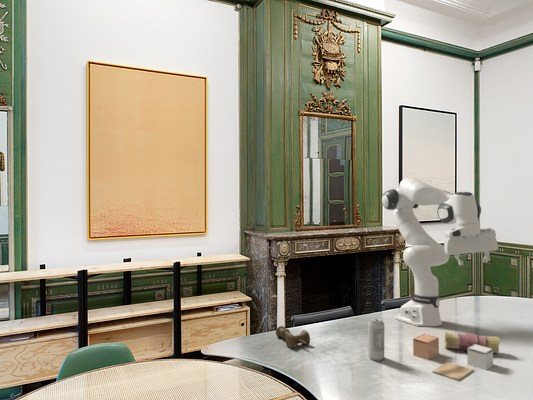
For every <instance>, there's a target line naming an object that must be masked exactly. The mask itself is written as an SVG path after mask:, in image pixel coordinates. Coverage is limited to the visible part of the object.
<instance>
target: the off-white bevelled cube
mask: <svg viewBox="0 0 533 400" xmlns="http://www.w3.org/2000/svg"><path fill="white" fill-rule="evenodd" d="M467 365H469V366H473V367H476V368H479V369H482V370H488V369H490V368H491V367H492V366H493V365H494V352H493V349H492V348H488V347H484V346H481V345H477V344H474V345H472V346H470V347H469V348H468V352H467Z"/></svg>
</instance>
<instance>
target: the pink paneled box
mask: <svg viewBox="0 0 533 400" xmlns="http://www.w3.org/2000/svg"><path fill="white" fill-rule="evenodd" d="M412 341H413V343H412V347H413V348H412V350H413V353H412V354H413V356H414V357H417V358H421V359H424V360H427V361H428V360H430V359H432V358H434V357H435V356H438V355H439V354H440V345H439V343H440V337H438V336H436V335H435V336H434V335H431V334H428V333H427V334H426V333H422V334H421V335H419V336H417V337H414V338H413V339H412Z"/></svg>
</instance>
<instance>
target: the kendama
mask: <svg viewBox="0 0 533 400" xmlns="http://www.w3.org/2000/svg"><path fill="white" fill-rule="evenodd" d="M275 335H276V337H277V338H281V339H284V340H285V345H286V346H287V347H286V348H289V349H293V348H294V347H295V346H296V345H298V344H303V345H306V346H307V345H309V344H310V343H311V337H310V336H311V335H310V333H309V332H308V331H307V330H305V329H303V330H302V331H301V332H299V334H297V335H293V334H292V333H291V331H290V329H288V328H285V326H283V325H280V326H278V327H276V329H275Z"/></svg>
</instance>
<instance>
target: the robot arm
mask: <svg viewBox="0 0 533 400" xmlns="http://www.w3.org/2000/svg"><path fill="white" fill-rule="evenodd" d="M381 204H382V205H383V207H384V208H385V209H386V210H388V211H392V210H393V212H392V216H393V217H392V218H393V220H394V222H395V226H396V227H397V229H398V231H399V233H400V234H401V236H402V238H403V239H404V241H405V243H407V244H409V245H411V246H408V247H407V248H405V249H404V251H403V252H402V254H403V255H402V258H403V259H402V260H403V262H404V264H405V265H406V266H407V267H409V268H410V271H411V272H412V275H413V281H414V292H413V293H411V294H410V295H409V297H410V298H411V299H410V300H408V301H407V302H406V303H404V304H402V305H401V306H400V309H399V313H397V314H395V316H394V319H395V320H398V321H401V322H404V323H406V324H407V323H408V324H409V325H413V326H417V327H438V326H442V325H443V322H442V318H441V314H440V313H441V312H440V294H439V279H438V277H436V276H435V275H434V274H433V272H432V270H431V267H438V266H441V265H445V264H447V262H448V261H449V259H450V256H454V258H455V260H457V263H458V265H459V266H464V265H465V263H464V260H461V259H460V257H461V256H460V255H463V254H464V255H466V254H476V253H483V254H484V255H483V256H484V257H482V258H481V262H482V263H484V264H487V263H488V258H489V256H490V252H495V251H497V250H498V249H499V244H498V241H497V238H496V236H497V235H496V234H497V233H496V231H495V229H492V228H490V227H488V228H481V225H480V220H479V218H480V216H481V215H482V207H481V205H480V203H479V202H478V201H477V199H476V197H475V196H474V194H473V192H470V191H458V192H454V193H452V192H450V191H446V190H444V189H441V188H438V187H435V186H432V185H430V184H428V183H425V182H424V181H422V180H420V179H418V178H417V179H416V178H415V177H406V178H403V179H402V180H401V181H400V183H399V186H398V187H397V188H391V189H388V190H387V191H384V193H382V195H381ZM419 205H420V206H437V205H438V206H437V218H438V219H439V220H440V221H441V223H442V224H443V223H444V224H454V223H455V227H453V228H450V229H449V230H447V231H444V235H445V239H444V241H443V245H442V244H440V243H439V242H437V241H436V240H435V239H433V237H432V236H431V235H429V234H428V232H426V230H425V229H424V228H423V226H422V224H421V222H420V221H419V219H418V217H417V216H416V215H415V213H414V209H418V207H419Z"/></svg>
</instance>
